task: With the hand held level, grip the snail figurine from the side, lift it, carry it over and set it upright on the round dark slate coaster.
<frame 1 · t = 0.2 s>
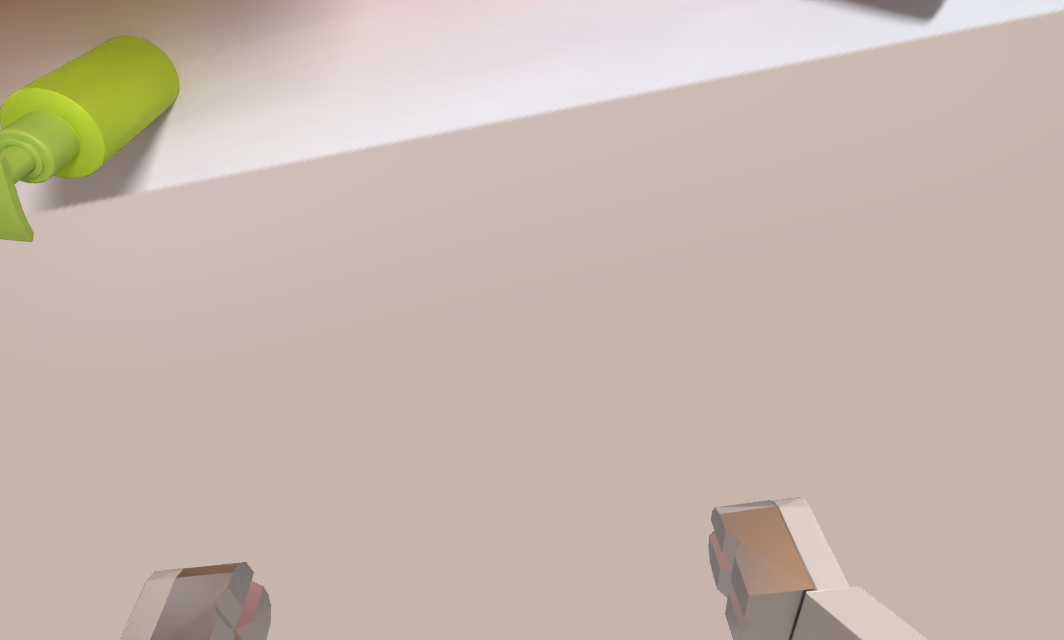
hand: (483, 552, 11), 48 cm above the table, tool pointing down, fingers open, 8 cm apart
soap dispenser: (141, 80, 51), on the table
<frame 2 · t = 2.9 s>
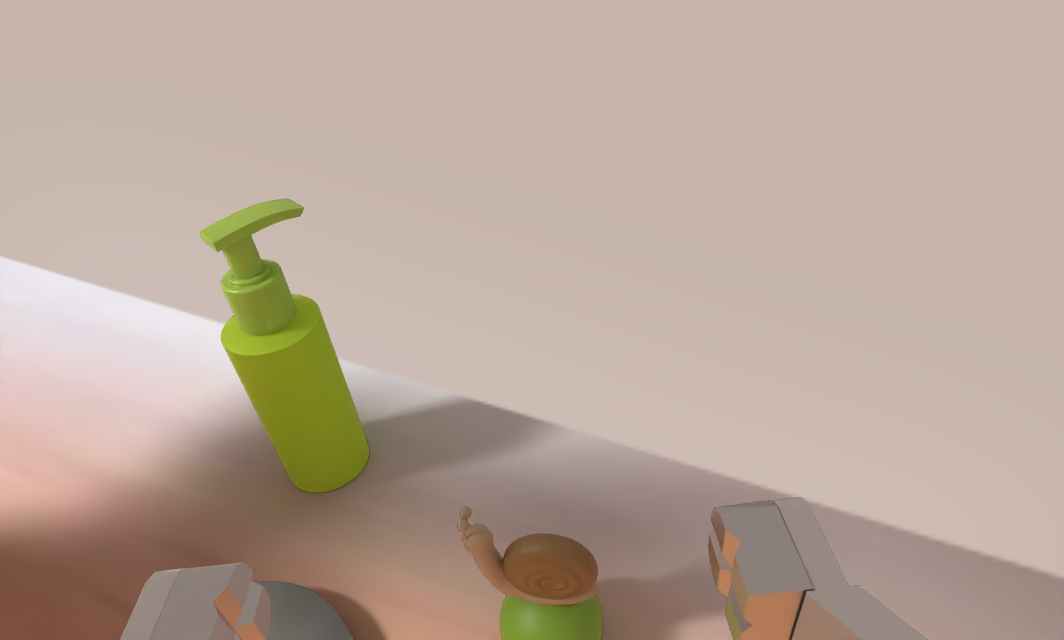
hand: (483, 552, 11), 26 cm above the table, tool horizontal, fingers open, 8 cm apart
soap dispenser: (336, 457, 48), on the table
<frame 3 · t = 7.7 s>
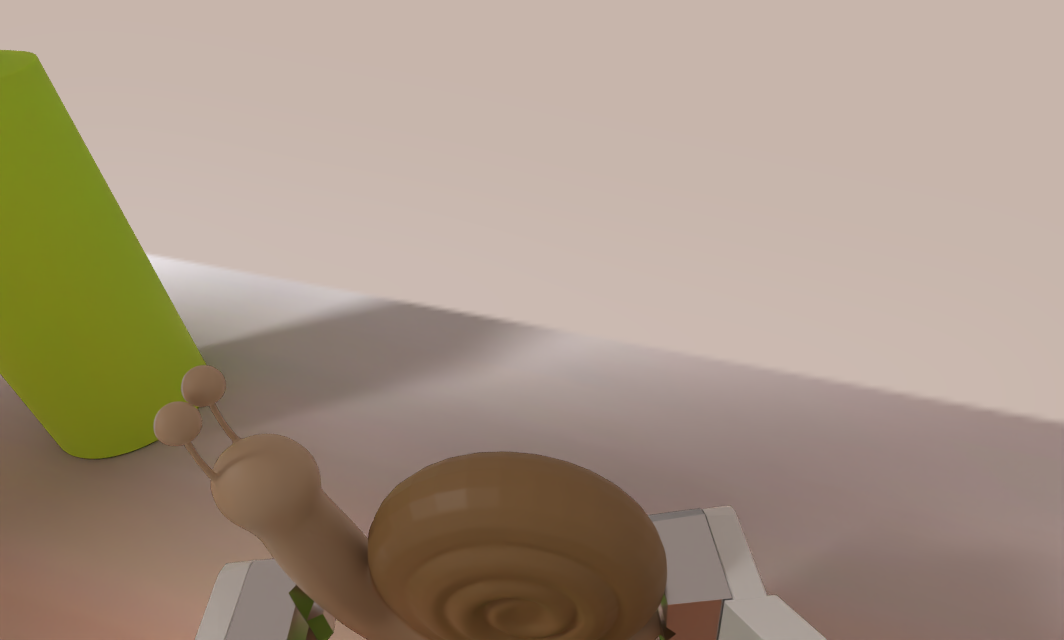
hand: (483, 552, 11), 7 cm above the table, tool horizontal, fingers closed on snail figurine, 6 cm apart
soap dispenser: (151, 399, 27), on the table
when the fingers open (10 cm above the table, at t = 12.7 s): snail figurine moves 2 cm, resting on slate coaster.
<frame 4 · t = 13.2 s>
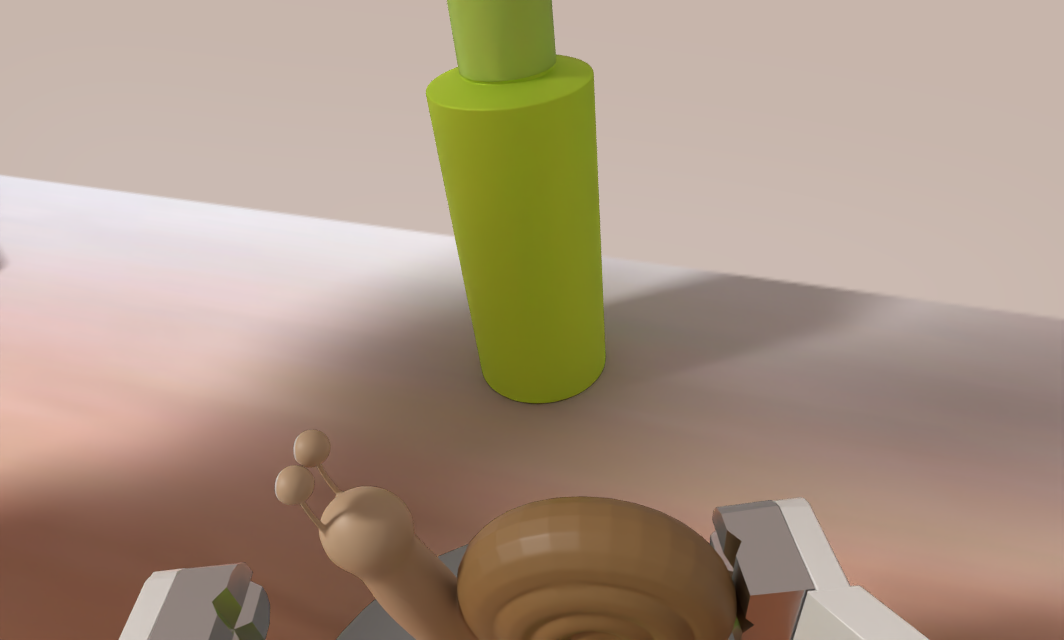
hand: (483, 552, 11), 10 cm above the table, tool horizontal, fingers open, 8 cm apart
soap dispenser: (550, 356, 31), on the table
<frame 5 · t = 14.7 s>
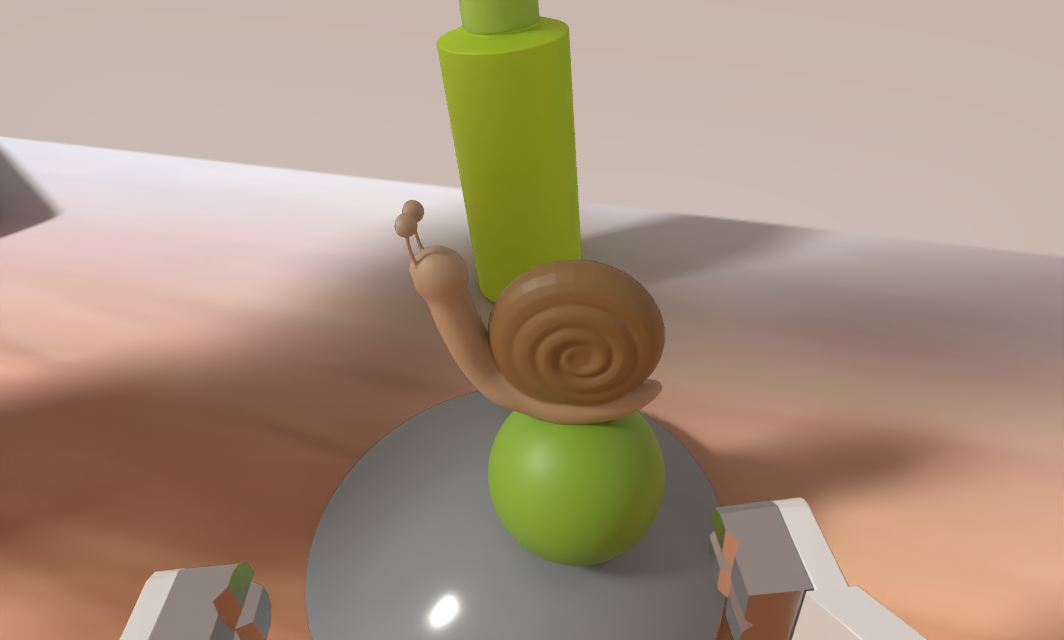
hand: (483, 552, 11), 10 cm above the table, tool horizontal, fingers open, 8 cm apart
snail figurine: (565, 527, 22), point 1 cm above the table, touching slate coaster
soap dispenser: (536, 276, 37), on the table
slate coaster: (519, 552, 23), on the table
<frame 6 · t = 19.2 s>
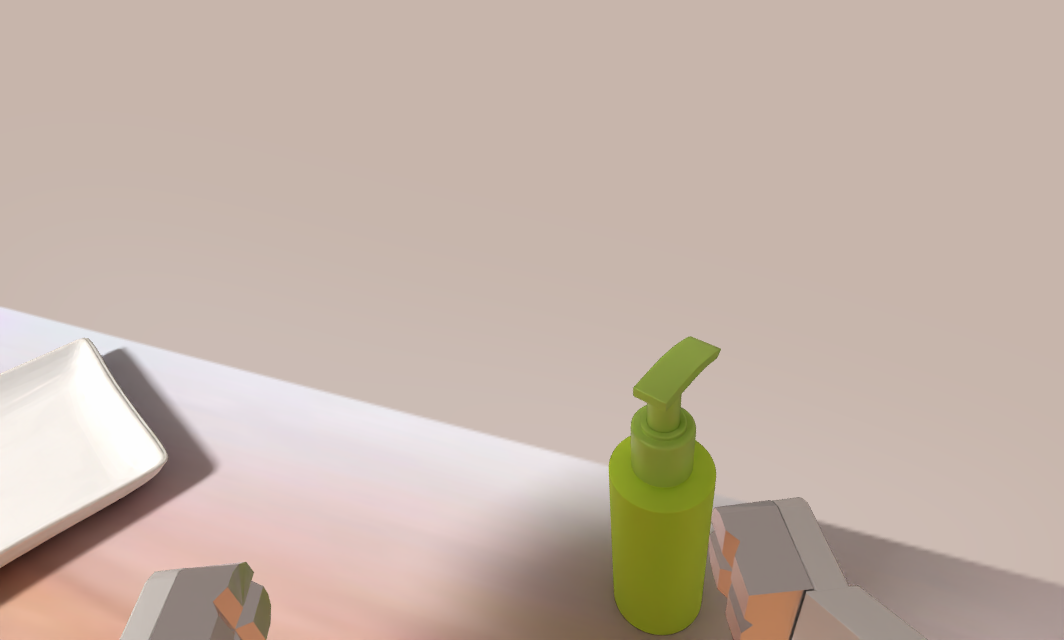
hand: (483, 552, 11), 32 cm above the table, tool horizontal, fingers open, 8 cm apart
soap dispenser: (661, 588, 44), on the table
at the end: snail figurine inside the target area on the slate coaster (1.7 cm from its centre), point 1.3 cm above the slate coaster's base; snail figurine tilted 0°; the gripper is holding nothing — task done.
